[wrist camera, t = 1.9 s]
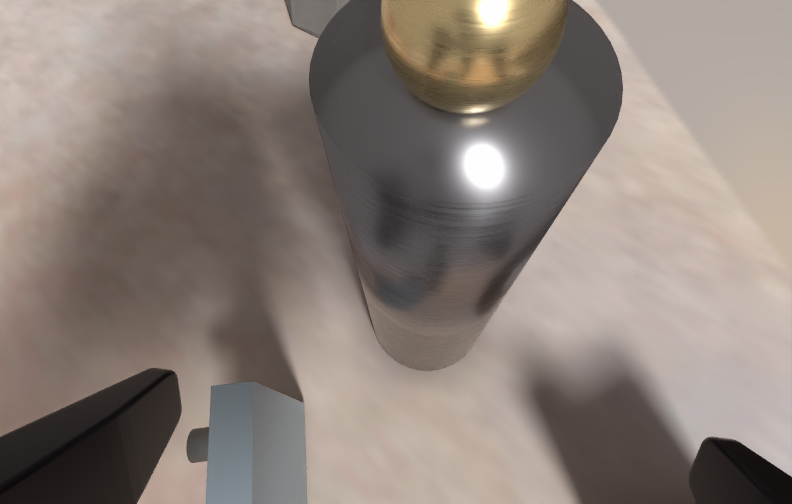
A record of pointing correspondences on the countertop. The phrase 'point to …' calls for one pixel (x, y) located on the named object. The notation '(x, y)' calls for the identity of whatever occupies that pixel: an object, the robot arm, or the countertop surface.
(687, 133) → the countertop surface
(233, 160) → the countertop surface
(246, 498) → the gate
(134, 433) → the robot arm
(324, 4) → the coffeepot
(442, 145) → the grey tall cylinder
